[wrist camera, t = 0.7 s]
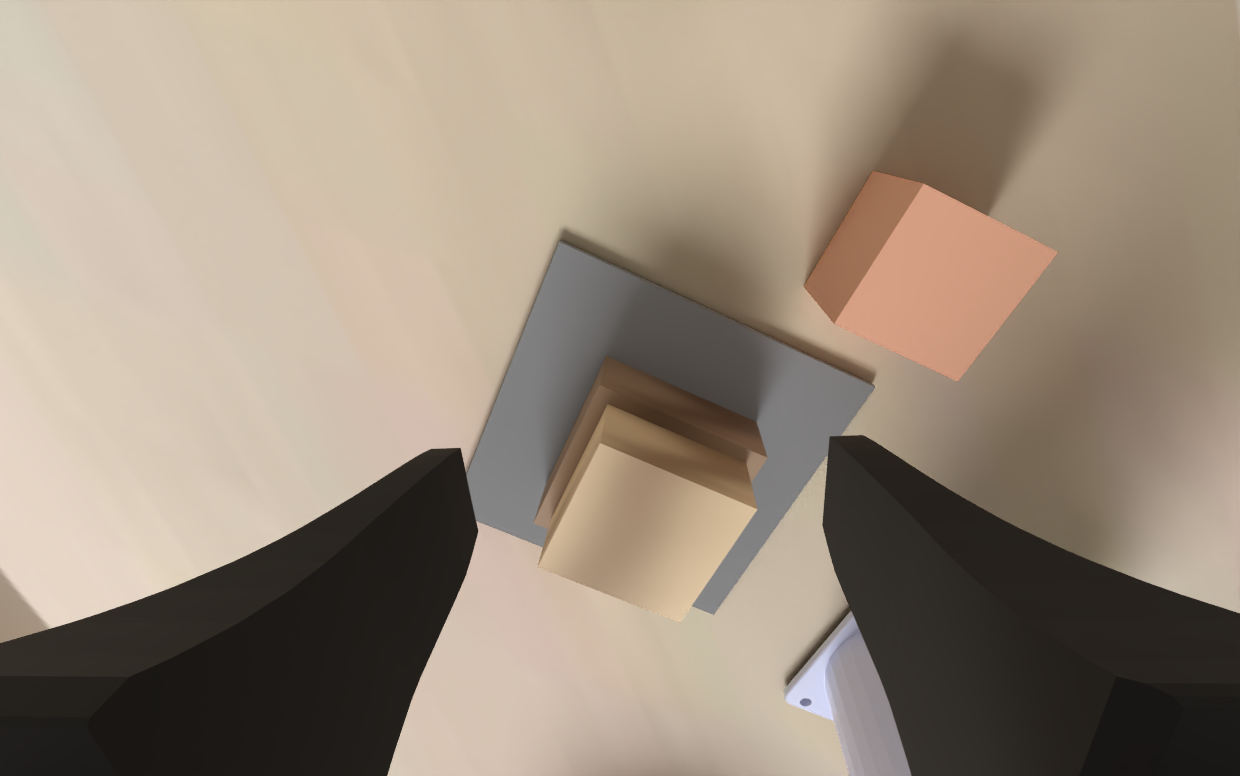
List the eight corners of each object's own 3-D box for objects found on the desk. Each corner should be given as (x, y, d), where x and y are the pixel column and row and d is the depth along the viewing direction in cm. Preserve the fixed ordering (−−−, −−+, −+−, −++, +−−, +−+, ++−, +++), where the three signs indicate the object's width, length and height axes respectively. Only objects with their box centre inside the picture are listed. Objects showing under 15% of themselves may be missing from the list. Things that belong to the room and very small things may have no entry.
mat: (872, 383, 21) (875, 387, 21) (713, 609, 26) (713, 614, 26) (560, 239, 20) (559, 241, 19) (454, 506, 24) (452, 511, 24)
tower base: (756, 421, 22) (767, 457, 19) (682, 539, 24) (684, 583, 22) (606, 356, 21) (599, 384, 19) (545, 483, 23) (533, 523, 21)
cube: (981, 225, 19) (1058, 252, 15) (905, 334, 20) (957, 381, 17) (872, 170, 18) (923, 183, 15) (802, 285, 20) (834, 323, 16)
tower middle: (746, 463, 19) (757, 509, 17) (678, 569, 21) (680, 622, 19) (607, 403, 19) (600, 443, 17) (551, 518, 21) (537, 567, 19)
